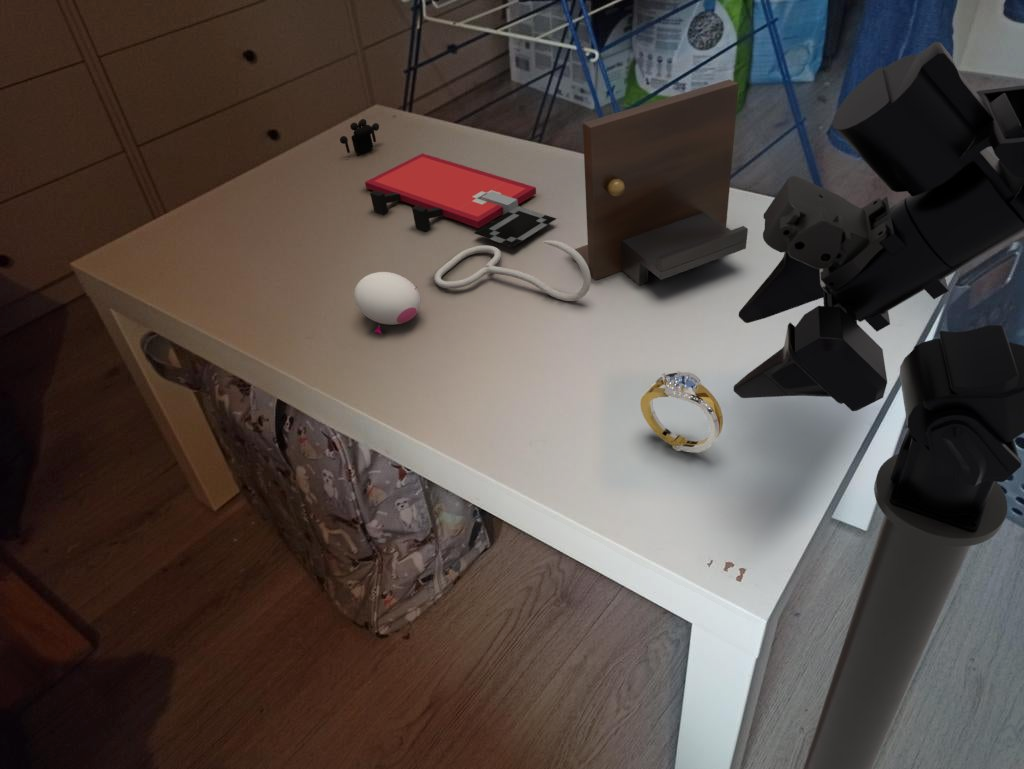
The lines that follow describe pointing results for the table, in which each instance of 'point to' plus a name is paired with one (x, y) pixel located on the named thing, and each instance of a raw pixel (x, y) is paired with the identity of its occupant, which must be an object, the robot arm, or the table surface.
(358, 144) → the wireless earbuds
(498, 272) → the white cord
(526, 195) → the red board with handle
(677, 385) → the ring
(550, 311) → the table surface
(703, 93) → the door rack
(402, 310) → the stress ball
